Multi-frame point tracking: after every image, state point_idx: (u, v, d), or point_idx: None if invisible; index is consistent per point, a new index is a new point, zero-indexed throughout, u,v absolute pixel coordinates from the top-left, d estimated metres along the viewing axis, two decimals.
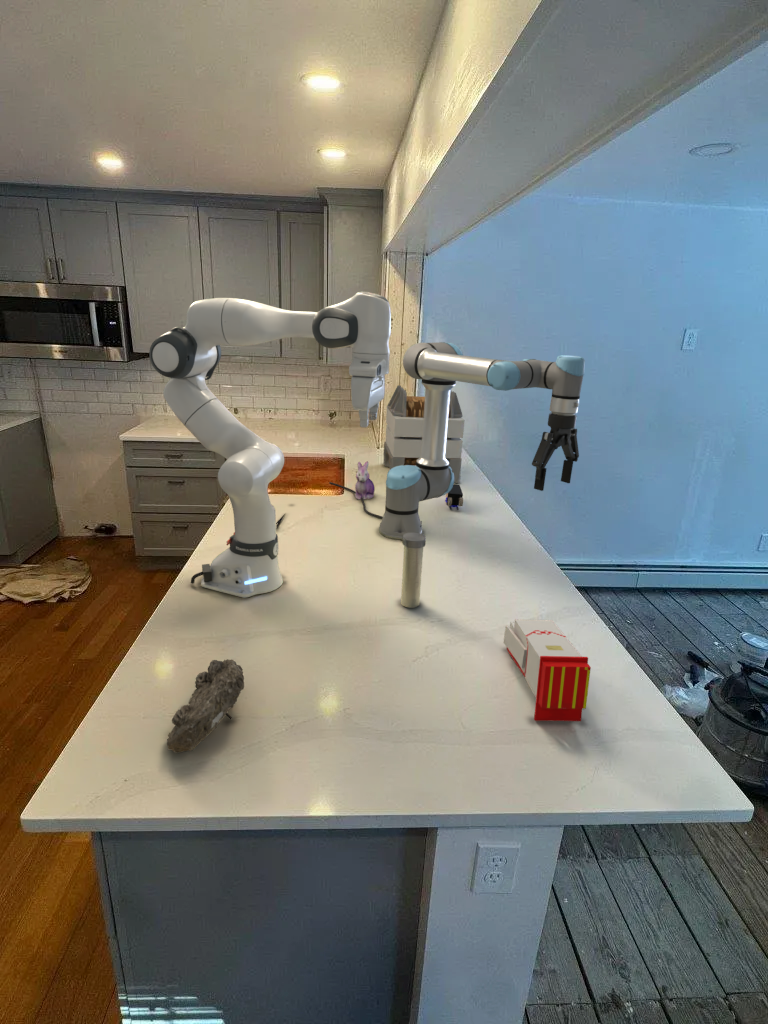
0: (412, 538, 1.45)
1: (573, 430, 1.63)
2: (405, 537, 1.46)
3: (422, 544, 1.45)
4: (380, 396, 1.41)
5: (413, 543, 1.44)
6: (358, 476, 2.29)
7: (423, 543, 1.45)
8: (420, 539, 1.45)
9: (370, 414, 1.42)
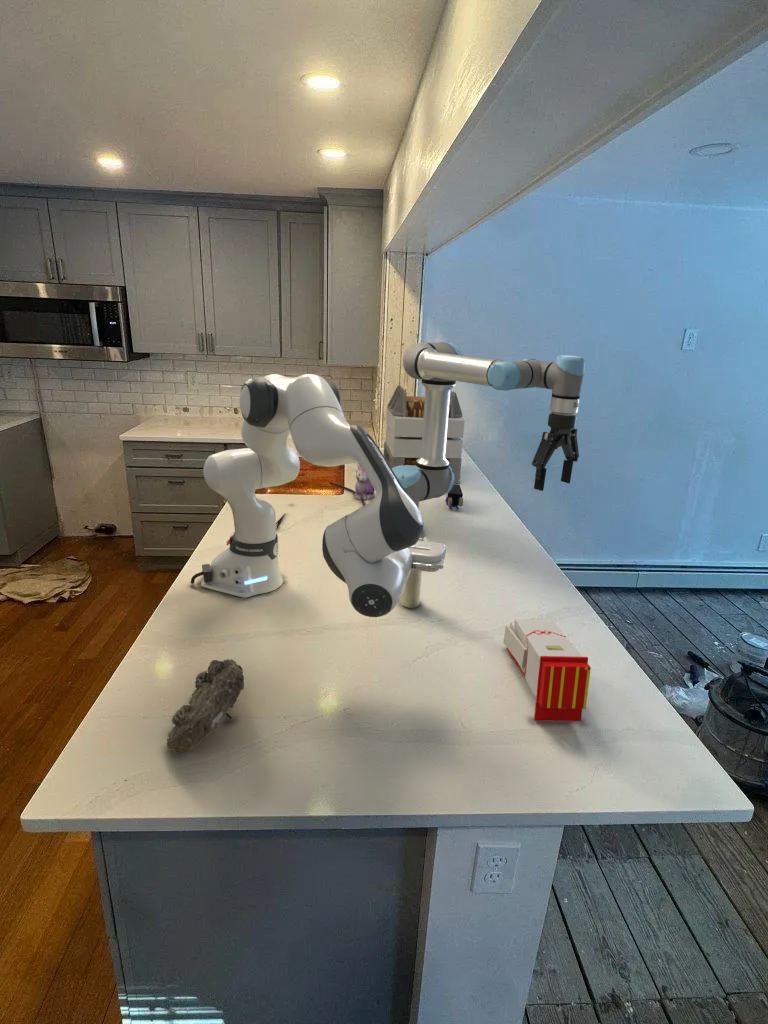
0: None
1: (573, 430, 1.63)
2: None
3: None
4: None
5: None
6: (358, 476, 2.29)
7: None
8: None
9: (418, 539, 1.20)
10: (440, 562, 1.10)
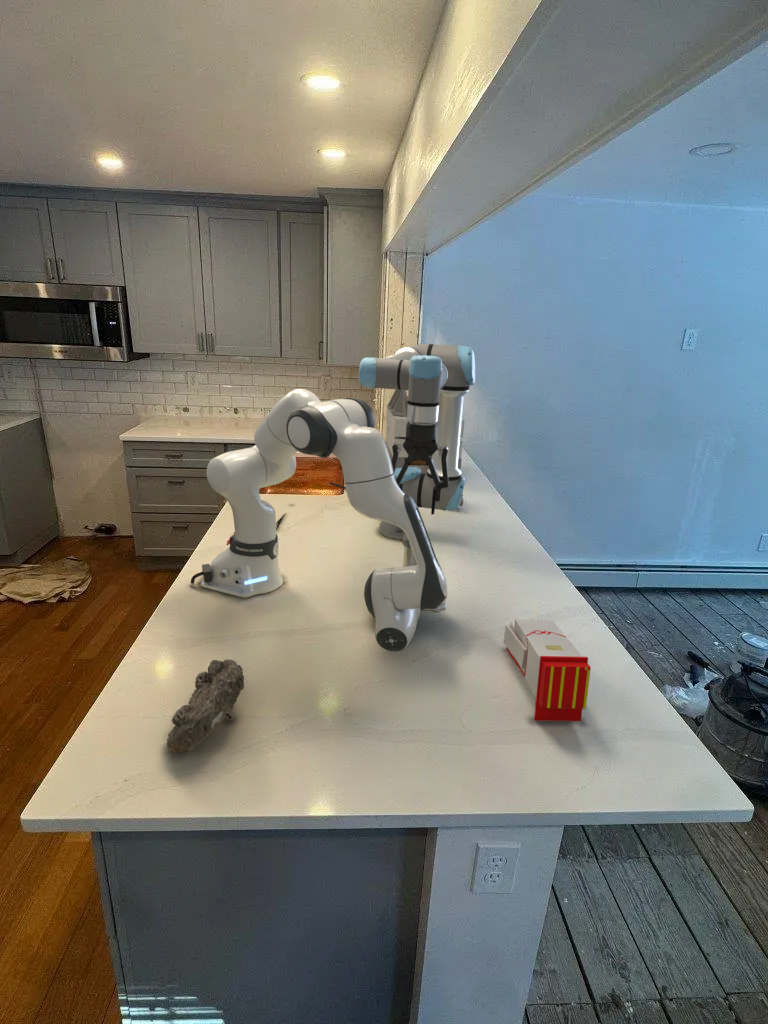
0: None
1: None
2: (405, 537, 1.46)
3: None
4: None
5: None
6: None
7: None
8: None
9: None
10: (443, 605, 1.40)
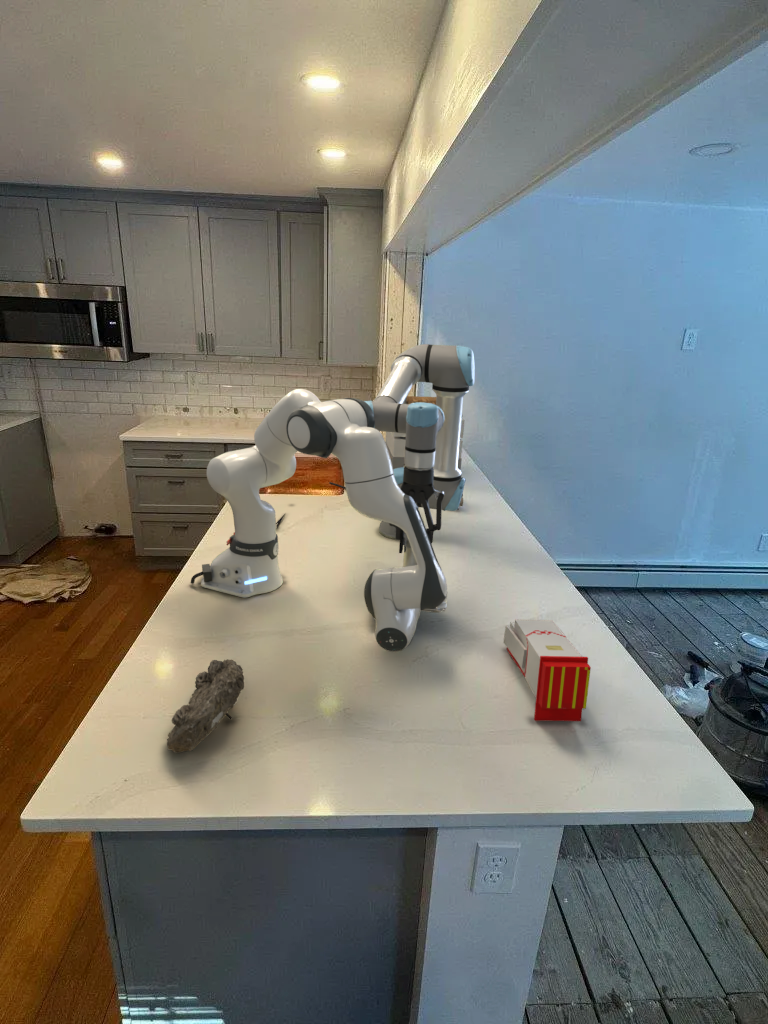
0: None
1: None
2: (405, 537, 1.46)
3: None
4: None
5: None
6: None
7: None
8: None
9: None
10: (443, 605, 1.40)
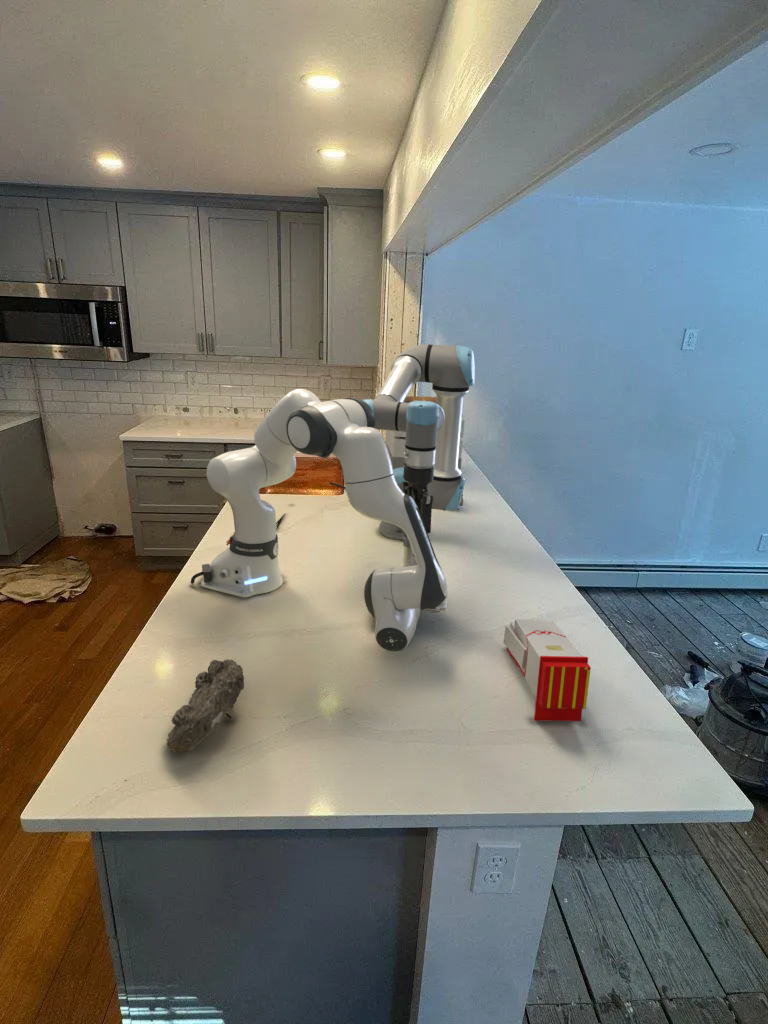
0: None
1: None
2: None
3: None
4: None
5: None
6: None
7: None
8: None
9: None
10: (443, 605, 1.40)
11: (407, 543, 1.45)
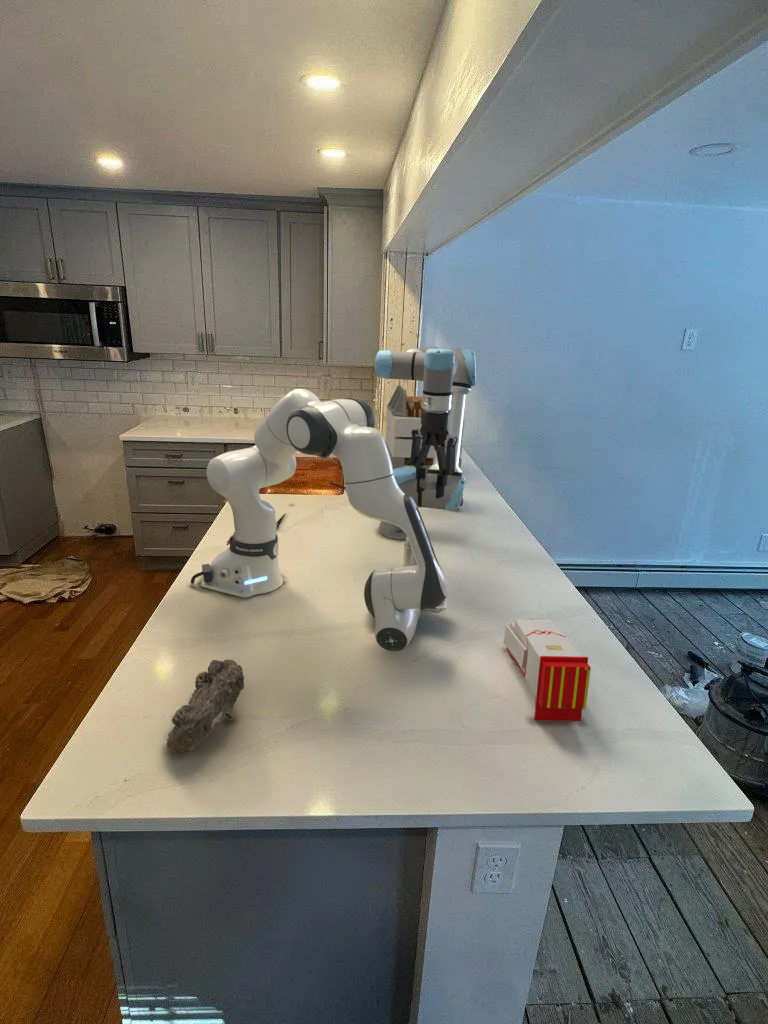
0: (434, 478, 1.55)
1: None
2: None
3: None
4: None
5: None
6: None
7: None
8: (429, 476, 1.56)
9: None
10: (443, 605, 1.40)
11: (429, 487, 1.52)
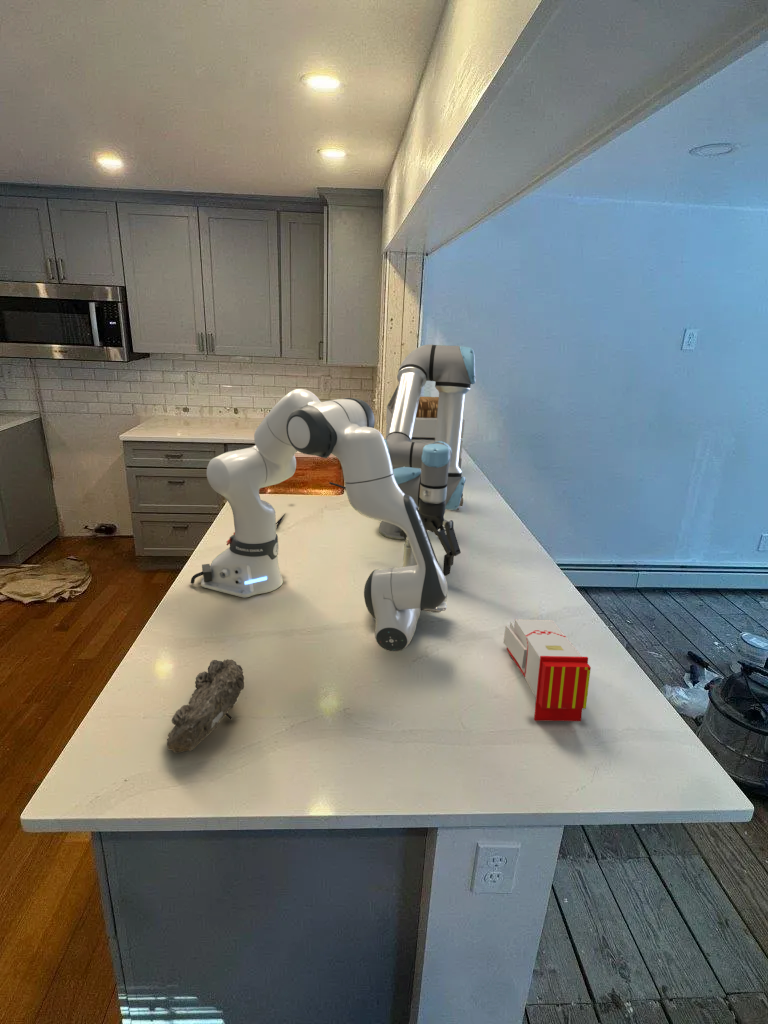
0: None
1: None
2: None
3: None
4: None
5: None
6: None
7: None
8: None
9: None
10: (443, 605, 1.40)
11: None
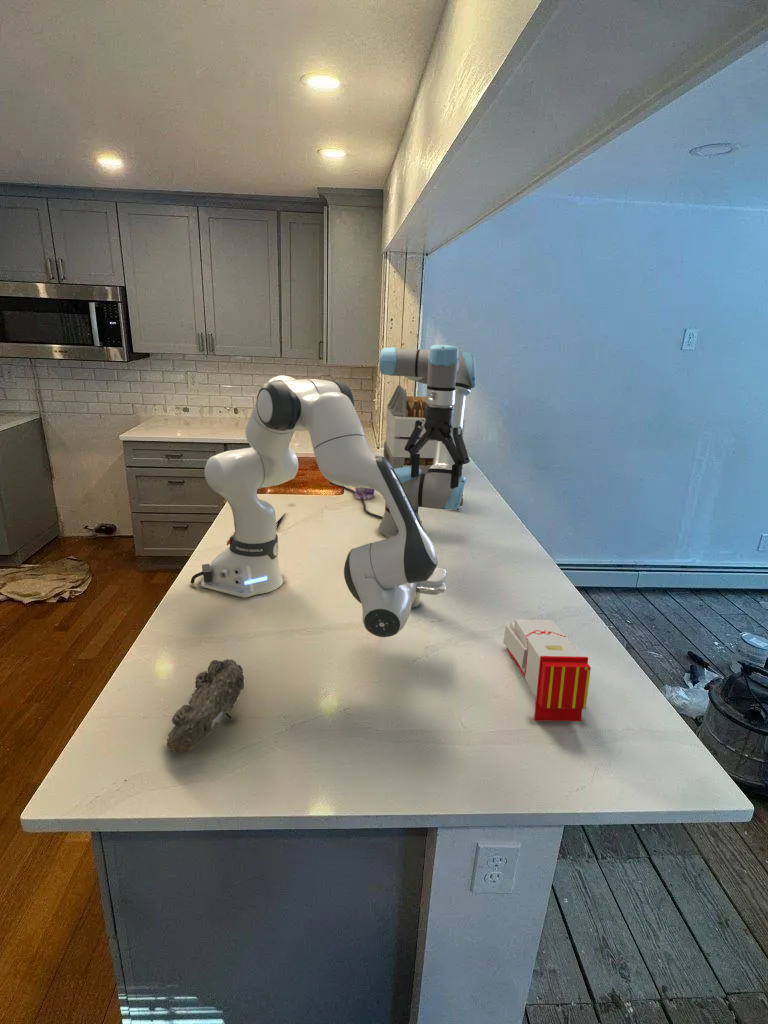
0: None
1: None
2: None
3: None
4: None
5: None
6: None
7: None
8: None
9: None
10: (442, 586, 1.23)
11: None
